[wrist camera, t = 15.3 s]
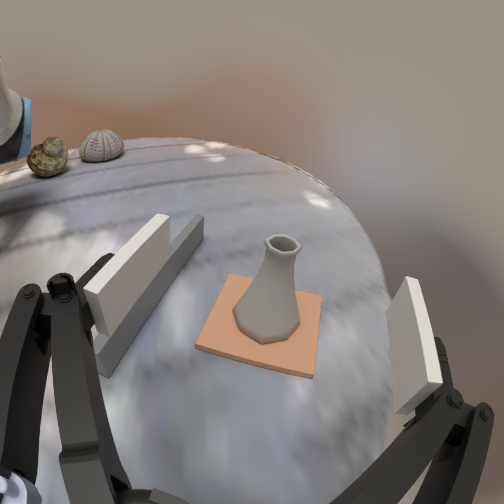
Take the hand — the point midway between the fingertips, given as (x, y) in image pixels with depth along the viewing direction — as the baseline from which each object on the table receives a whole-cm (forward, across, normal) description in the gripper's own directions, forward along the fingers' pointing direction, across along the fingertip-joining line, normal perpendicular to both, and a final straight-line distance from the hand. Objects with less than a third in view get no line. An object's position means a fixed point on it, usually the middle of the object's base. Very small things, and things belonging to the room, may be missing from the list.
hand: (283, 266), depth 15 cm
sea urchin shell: (+51, -56, -17) cm, 77 cm away
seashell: (+36, -62, -17) cm, 73 cm away
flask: (+10, 0, -15) cm, 18 cm away
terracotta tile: (+10, 0, -16) cm, 19 cm away
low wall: (+10, -13, -16) cm, 23 cm away
